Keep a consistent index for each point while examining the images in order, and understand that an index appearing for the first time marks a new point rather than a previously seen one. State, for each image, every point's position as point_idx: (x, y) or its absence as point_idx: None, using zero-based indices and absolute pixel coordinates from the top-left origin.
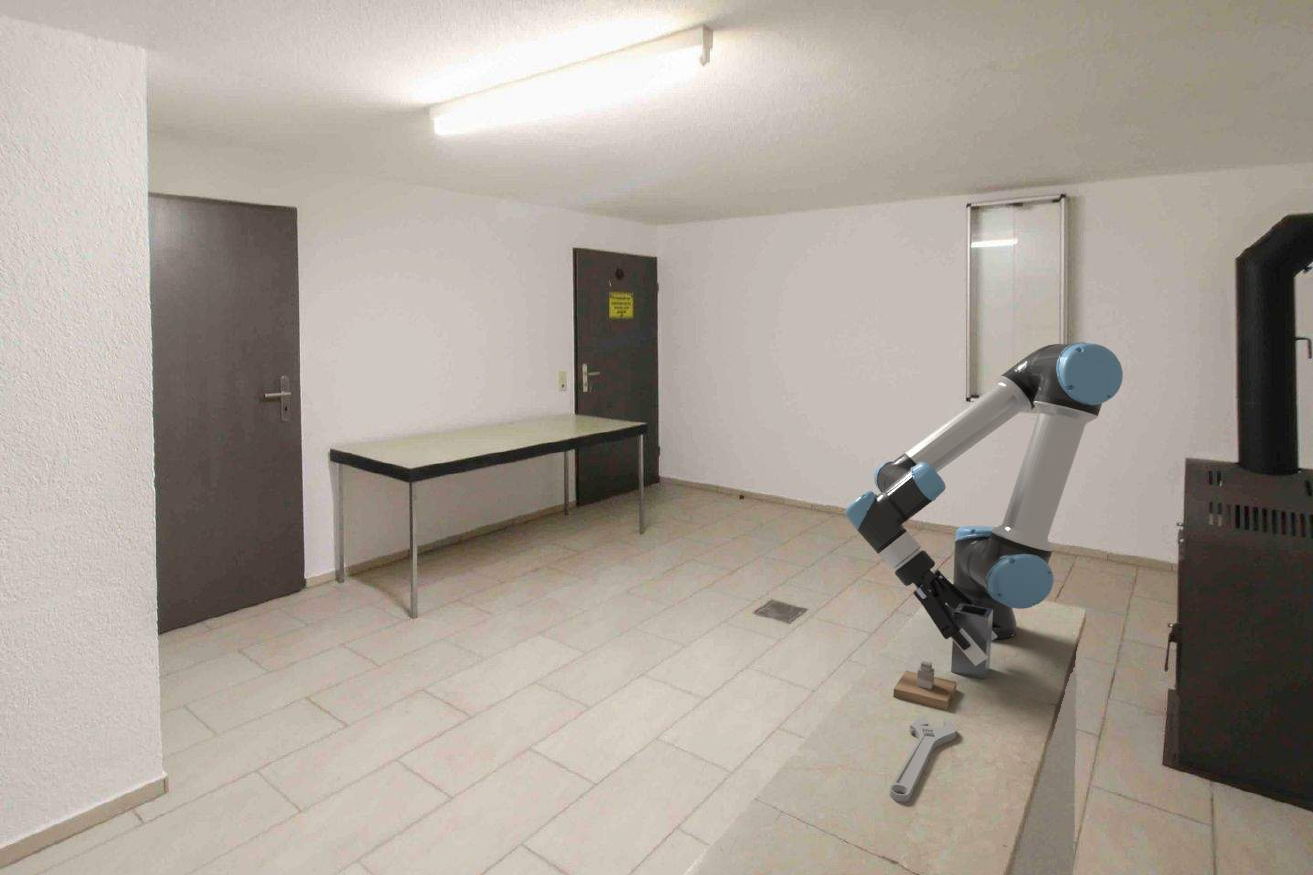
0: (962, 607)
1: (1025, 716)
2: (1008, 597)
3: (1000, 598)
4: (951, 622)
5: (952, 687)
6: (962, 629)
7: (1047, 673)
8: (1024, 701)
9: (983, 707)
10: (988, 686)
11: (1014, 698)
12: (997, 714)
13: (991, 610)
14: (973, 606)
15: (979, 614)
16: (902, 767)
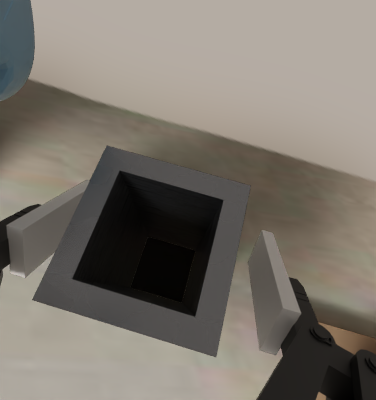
0: (120, 294)
1: (345, 197)
2: (21, 50)
3: (9, 86)
4: (360, 381)
5: (337, 330)
6: (295, 308)
7: (140, 126)
8: (284, 187)
9: (348, 265)
10: (242, 241)
11: (278, 201)
12: (364, 243)
13: (136, 156)
14: (90, 229)
15: (114, 212)
16: None
